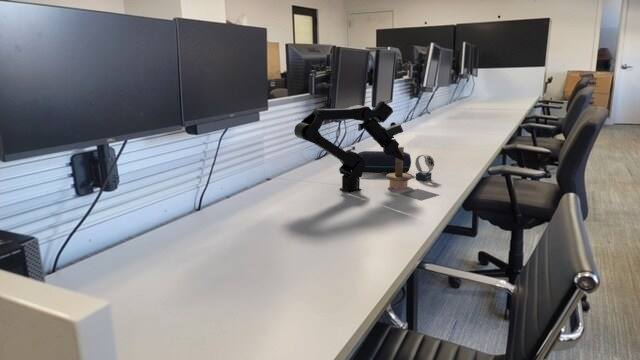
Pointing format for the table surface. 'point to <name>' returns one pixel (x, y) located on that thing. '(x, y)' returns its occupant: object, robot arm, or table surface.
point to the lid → (399, 170)
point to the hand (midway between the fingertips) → (403, 158)
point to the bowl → (398, 184)
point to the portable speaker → (382, 162)
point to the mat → (419, 194)
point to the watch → (423, 174)
